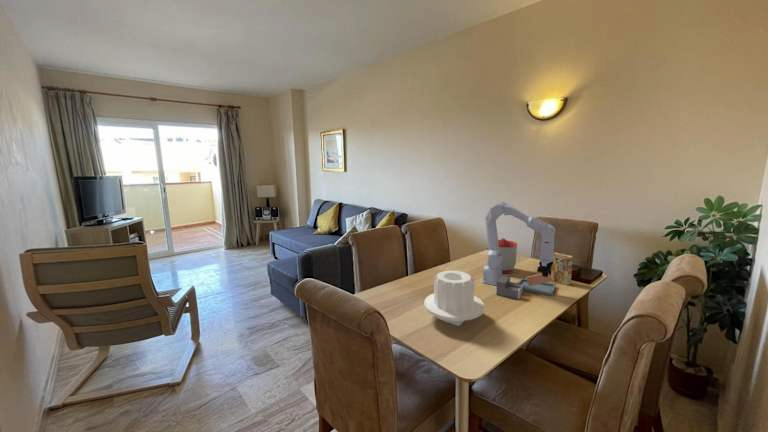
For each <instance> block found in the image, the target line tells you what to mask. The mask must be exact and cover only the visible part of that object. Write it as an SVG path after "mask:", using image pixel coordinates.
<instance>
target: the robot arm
mask: <svg viewBox="0 0 768 432" xmlns="http://www.w3.org/2000/svg"><path fill="white" fill-rule="evenodd" d="M503 215H504V216H513V218H516V219H518V220H520V221H522V222H523V223H525V224H526V226H527V227H528V228H530V229H531V230H532V231H535V232H536V233H538V234H540V235H541V240H540V252H539V253H540V254H539V255H540V256H539V260H540V261H539V266H540V269H541V274H542V275H543V276H544V277H547V276H548V273H549V274H550V270H551V268H552V264H553V261H556V259H553V254H554V253H555V234H556V228H555V226H553V224H550V223H548V222H544V221H543V220H541V219H539V218H540V217H538V216H536V217H535V216H528V215H526V214H525V213H524V212H522V211H520V210H519V209H517V208H515V207H514V206H512V205H511V204H508V203H506V202H504V201H499V202H497V203H495V204H493V205H492V206H491V207H490V208H489V210H488V212H487V214H486V216H485V225H486V226H485V227H486V235H487V243H488V248H489V250H488V253H487V254H488V255H487V260H486V264H485V265H484V267H483V270H482V284H487V285H492V286H497V281H498V279H499V278H500V277H501V276H502V275H503V273H502V265H501V263H502V262H503V256H502V255H501V251H500V249H499V244H498V240H499V237H498V227H497V220H498V219H499V217H501V216H503Z"/></svg>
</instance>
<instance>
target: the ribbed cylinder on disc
mask: <svg viewBox="0 0 768 432" xmlns="http://www.w3.org/2000/svg"><path fill="white" fill-rule="evenodd" d="M433 288H434V289H433V293H431V294H429V295H428V296H427V297H425V299H424V303H423V305H424V306H423V307H424V309H425V311H426V312H428V313H429V314H430V315H432V316H434V317H436V318H437V319H438V320H439V321H442V322H446V323H448V324H451V325H455V326H457V327H459V326H461V325H462V324H463V323H464V322H465V321H470V320H474V319H477V318H479V317H481V315H483V313H484V311H485V304H484V302H483V301H482V299H480V298H479V297H477V296H476V295H475V279H474V277H473V276H472V275H471V274H470V273H467V272H463V271H461V270H454V269H453V270H443V271H441V272H437V273H436V275H435V276H434V277H433Z"/></svg>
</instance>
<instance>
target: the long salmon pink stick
mask: <svg viewBox="0 0 768 432" xmlns="http://www.w3.org/2000/svg"><path fill="white" fill-rule="evenodd" d="M525 279H527V281H528V284H529V286H532V285H537V284H541V283H551V282H553V281H552V279H551V273H550V272H549V273H548V276H547V277H544V276H543V275H542V273H537V274H533V275H529V276H526V277H525Z"/></svg>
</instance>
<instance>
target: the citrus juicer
mask: <svg viewBox="0 0 768 432" xmlns="http://www.w3.org/2000/svg"><path fill="white" fill-rule="evenodd" d="M498 244H499V249H500V251H501V255H502V256H503V262H502V263H501V265H502V274H510V273H513V271H514V269H515V265H516V262H517V253H518V252H517V251H518V250H517V249H518V247H517V246H518V243H517V242H516V241H512V240H506V238H504V237H503V238H501V239H498ZM486 251H489V247H487V248H486Z"/></svg>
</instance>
